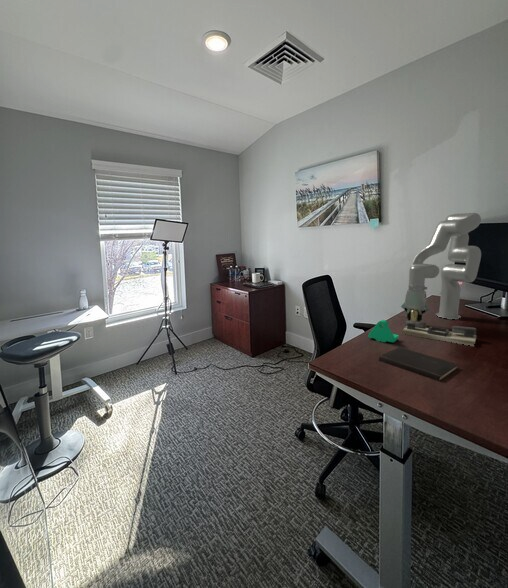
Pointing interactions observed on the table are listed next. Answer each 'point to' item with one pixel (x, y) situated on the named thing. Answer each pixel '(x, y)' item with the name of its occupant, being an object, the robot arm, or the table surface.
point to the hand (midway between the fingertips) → (414, 320)
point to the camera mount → (382, 332)
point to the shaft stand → (441, 333)
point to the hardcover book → (419, 363)
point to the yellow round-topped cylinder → (414, 314)
